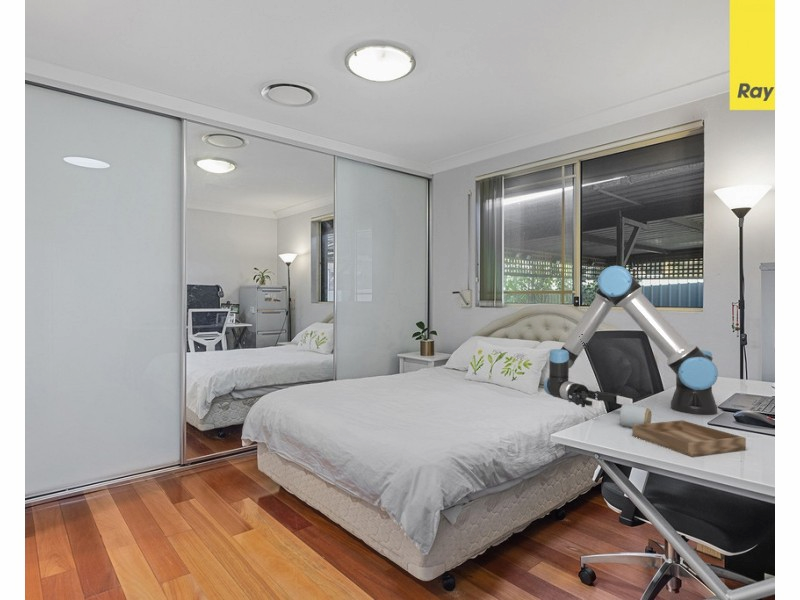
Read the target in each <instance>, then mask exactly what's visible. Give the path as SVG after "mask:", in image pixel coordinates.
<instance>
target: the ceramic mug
mask: <svg viewBox="0 0 800 600" xmlns="http://www.w3.org/2000/svg"><path fill="white" fill-rule="evenodd" d="M619 412H620V413H619V423H620V426H622V427H626V428H631V429H633V425H638V424H648V423H652V411H651V410H650V408H648V407H645V406H640V405H637V404H633V403H632V404H628V403H624V404H623V405H621V407H620V411H619Z"/></svg>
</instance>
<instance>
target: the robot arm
mask: <svg viewBox="0 0 800 600" xmlns="http://www.w3.org/2000/svg"><path fill="white" fill-rule="evenodd" d="M597 286H598V288H597V290H596V292H595V298H594V299H593V300H592V302H591V304H590V305H589V307H587V309H586V311H585V312H584V314H583V315H582V316H581V319H580V320H579V322H578V323H577V325H576V326H574V329H573V330H572V332H571V333H570V335H569V337H568V338H567V339H566V340H565V342H564V344H563V345H562V347H561V348H560V349H558V348H556V349H550V350H549V355H548V356H549V357H548V360H549V361H548V362H549V364H548V365H549V366H548V368H549V371H548V374H549V375H548V376H549V377H548V378H546V379H545V382H544V383H543V389H544V391H545V393H546V394H548V395H550V396H552V397H554V398H558V399H561V400H563V401H564V400H565V401H568V403H571V402H572V403H574V404H575V405H576V406H579V405H581V408H585V407H586V406H587V407H591V408H594V409H595V410H602V409H601V408H602V402H601V401H603V402H611V403H616V404H618V405H621V406H622V405H623V404H624V403H628V404H632V405H633V398H629V397H625V396H623V394H621V393H611V392H604V391H599V390H596V391H595V390H594V391H593V390H590V389H588V387H587V386H586V385H584V384H581V383H577V382H573V381H569V376H570V375H569V371H570V370H569V369H571V368H572V366H574V364H575V362H576V360H577V358H579V356H580V354H581V353H582V351H583V350H584V349H585V347H586V346H584V347H583V345H584V343H585V344H586V343H587V344H588V342H589V341H590V340H591V338H592V337H593V335H594V334H595V333H596V331H597V330H598V328H599V327H600V325H601V324H602V323H603V321H604V319H606V317H607V315H608V314H609V312H610V311H611V310H612V308H613V307H619V308H622V309H623V310H624V311H625V312H626V313H627V314H628V316H629V317H630V318H631V319H632V321H634V322H635V324H637V326H638V327H639V328H640V329H641V330H642V331H643V333H644V334H645V335H646V336H647V337H648V338H649V339H650V340H651V341H652V342H653V343H654V345H655V346H657V348H658V349H659V350H660V351H661V352H662V354H663V355H664V356H665V357H666V358H667V362H666V364H667V366H668V367H669V368H670V369H671V371H673V373H675V379H676V380H675V382H676V383H675V384H676V385H675V386H676V387H675V390H674V392H673V396H672V399H671V400H670V408H671V409H672V410H674V411H678V412H681V413H682V412H683V413H688V414H695V415H716V414H718V405H717V404H716V400H715V397H714V393H713V388H712V387H713V386H714V385H715V383H716V382H717V380H718V376H719V372H718V368H717V365H715V363H714V362H713V353H712V352H711V351H709V350H701V349H700V348H699V346H697V345H696V344H689V343H688V342H687V341H686V340H685V338H684V337H683V336H682V335H681V334H680V333H679V332H678V331H677V329H676V328H674V326H673V325H671V323H670V322H669V321H668V320H667V319H666V317H664V316H663V314H662V313H661V312H660V311H659V310H658V309H657V308H656V307H655V306H654V305H653V303H651V301H649V299H648V298H647V297H646V296H645V295H644V294H643V286H642V285H641V284H640V283H639V282H638V281H637V280H636V278H634V277H633V275H631V273H630V272H629V270H628V269H627V268H625V267H623V266H622V265H621V266H620V265H610V266H607V267H606V268H605V269H603V270H602V271H601V272H600V273H599V275H598V278H597ZM581 334H583V335H581ZM579 336H580V337H579ZM580 339H581V340H580ZM581 341H582V343H583V342H584V343H583V345H582V343H581ZM587 344H586V345H587Z"/></svg>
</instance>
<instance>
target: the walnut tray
mask: <svg viewBox="0 0 800 600" xmlns="http://www.w3.org/2000/svg"><path fill="white" fill-rule="evenodd" d="M633 436H634V438H636V437H637V438H636V439H639V438H640V439H639V440H642V441H644V440H645V442H647V441H648V442H647V443H650V442H651V444H652V445H656V444H657V445H656V446H659V445H660V446H659V447H662V446H663V447H662V448H664V447H665V448H664V449H667V448H668V450H670V449H671V450H670V451H674V452H677V453H679V454H682V455H686V456H688V457H690V458H697V457H704V456H710V455H711V456H712V455H719V454H728V453H734V452H735V453H736V452H742V451H746V450H747V449H746V448H747V447H746V445H747V442H746V440H747V439H746V437H744V436H742V435H741V436H740V435H738V434H733V433H729V432H727V431H726V432H725V431H722V430H718V429H715V428H712V427H708V426H704V425H700V424H697V423H693V422H689V421H686V420H670V421H661V422H651V423H648V424H638V425H633V428H632V437H633Z"/></svg>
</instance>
